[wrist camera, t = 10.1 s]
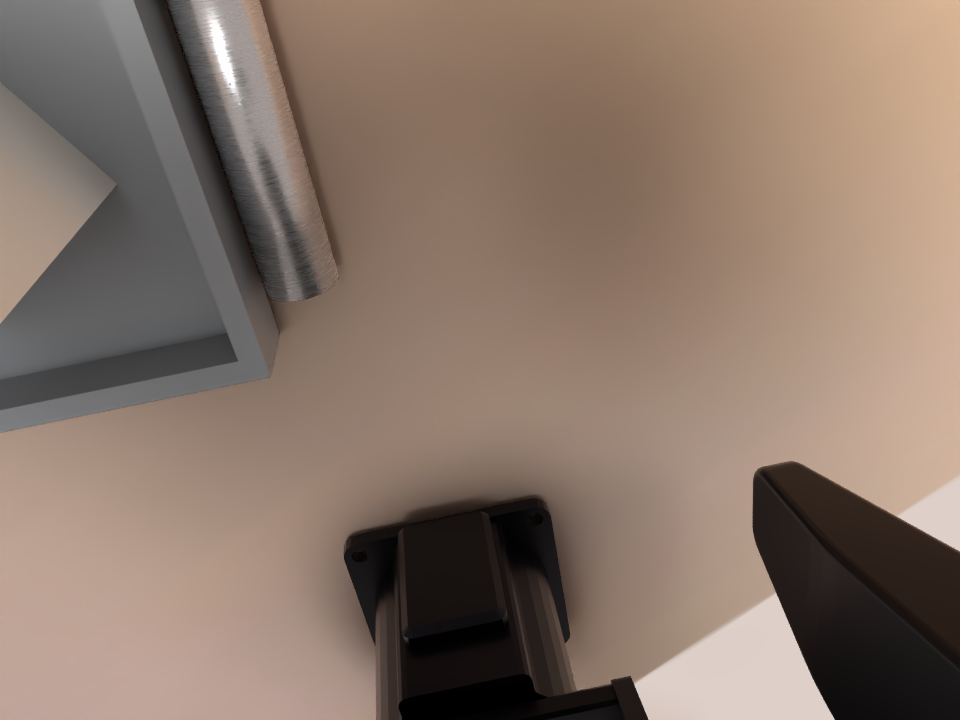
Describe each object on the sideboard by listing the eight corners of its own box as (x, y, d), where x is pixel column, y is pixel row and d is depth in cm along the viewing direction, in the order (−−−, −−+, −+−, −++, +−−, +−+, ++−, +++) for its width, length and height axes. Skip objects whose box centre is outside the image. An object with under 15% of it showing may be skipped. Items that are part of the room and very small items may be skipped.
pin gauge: (254, 290, 20) (314, 262, 21) (291, 308, 19) (352, 277, 20) (86, -186, 15) (175, -196, 16) (122, -203, 14) (216, -214, 15)
